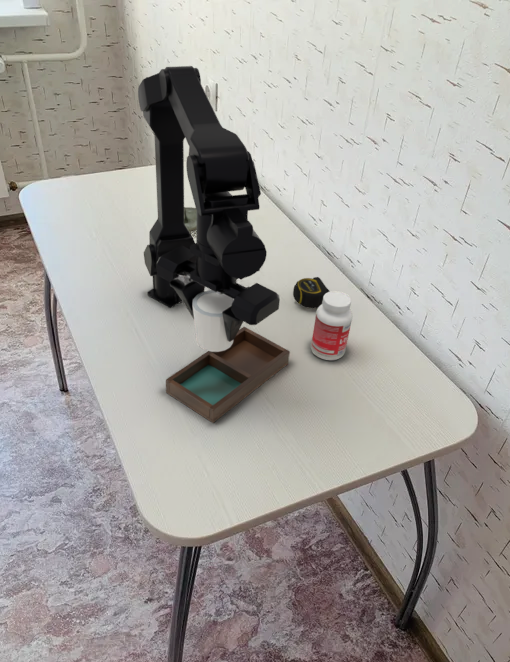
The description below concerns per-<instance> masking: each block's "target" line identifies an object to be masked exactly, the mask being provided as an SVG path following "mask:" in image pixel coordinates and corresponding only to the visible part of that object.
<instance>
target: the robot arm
mask: <svg viewBox="0 0 510 662" xmlns="http://www.w3.org/2000/svg"><path fill="white" fill-rule="evenodd" d="M137 99H138V104H139V109H140V111H141V112H142V115H143V118H144V120H145V122H146V124H147V125H148V127H149V128H150V130H151V131H152V133H153V137H154V152H155V153H154V155H155V156H154V157H155V160H154V161H155V181H156V182H155V183H156V204H157V205H156V207H157V219H156V220H155V222H154V224H153V225H152V227H151V229H150V230H149V235H148V236H149V244H147V245H146V247H145V249H144V251H143V259H144V265H145V267H146V269H147V271H148V275H149V276H150V277H152V289H150V290H148V291H147V292H146V293H147V294H146V295H147V296H149V297H150V298H152V299H154V300H156V301H158V302H159V303H161V304H163V305H165V306H166V307H168V308H173V307H175V306H176V305H179V304H180V303H183V304H184V306H185V307H186V309H187V311H188V312H189V314H190V316H191V317H192V319H193V320H194V314H193V299H194V298H195V297H196V295H198V294H200V293H202V292H205V288H207V289H209V290H212V291H214V292H216V293H218V294H225V295H227V296H229V297H231V298H233V302H232V306H231V307H229V308H228V309H226V310H224V311H223V312H222V314H223V320H224V326H225V332H226V336H227V339H228V341H229V342H231V341H232V340H234V338H235V337H236V335H237V333H238V331H239V330H240V329H241V328H242V324H243V323H245V324H247V325H249V326H257V325H258V324H259V323H261V322H263V321H264V320H265V319H267V318H268V317H270V316H271V315H273V314H274V313H275V312H277V311H278V310H279V308H280V300H281V299H280V294H278V292H276V291H274V290H273V289H270V288H268V287H266V286H264V285H263V284H261V283H258V282H255V283H254V284H252V285H251V286H244V285H243V284H239V283H238V282H237V281H238V279H239V280H243V279H245V278H249V277H251V276H253V275H255V274H256V273H257V272H260V270H261V269H262V267H263V266H264V264H265V262H266V259H267V253H268V252H267V248H266V245H265V244H264V242H263V240H262V239H261V238H260V236H259V235H258V234H257V232H256V231H255V230H254V226H253V224H252V223H251V221H249V217H248V215H249V214H248V213H249V212H250V211H257V210H260V200H259V197H261V195H262V192H261V188H260V184H259V179H258V178H259V177H258V175H257V170H256V166H255V165H256V164H255V162H254V160H253V157H252V154H251V152H250V151H249V150H248V149H247V147H246V145H245V144H244V143H243V141H242V140H241V138H240V137H239V135H238V134H236V133H235V132H233V131H231V130H229V129H227V128H225V127H223V126H222V124H221V123H220V120H219V118H218V115H217V114H216V112H215V110H214V108H213V105H212V104H211V102H210V99H209V97H208V95H207V94H206V91H205V89H204V87H203V85H202V79H201V73H200V70H199V68H198V67H193V65H184V66H183V65H182V66H180V65H179V66H166V67H164V68H162V69H160V70H159V72H158V73H155V74H153V75H150V76H146V77H145V78H143V79H142V80H141V82H140V84H139V85H138V87H137ZM185 140H186V143H187V145H188V155H187V157H186V161H185V160H184V159H185V158H184V157H185V155H184V153H185V151H184V143H185V142H184V141H185ZM184 161H185V162H184ZM184 163H186V164H184ZM185 165H186V166H185ZM185 167H186V175H187V181H188V183H189V187H190V191H191V195H192V199H193V203H194V208H196V210H197V229H196V232H195V233H196V235H195V237H196V239H195V240H194V237H193V235H192V233H191V232H189V230H188V228H187V227H186V225H185V224H184V207H185ZM244 189H245V191H246V193H243V194H234V195H233V194H232V193H230V192H238V191H243V190H244Z"/></svg>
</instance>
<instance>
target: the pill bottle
mask: <svg viewBox="0 0 510 662" xmlns="http://www.w3.org/2000/svg"><path fill="white" fill-rule="evenodd" d="M351 307H352V297H350V295H348V293H347V294H346V293H345V292H343V291H339V290H331V291H330V292H328V293H326V294H325V295H324V297H323V301H322V304H321V305H320V306H319V307H318V308H316V311H315V318H314V325H313V330H312V337H311V341H310V342H311V343H310V349H311V352H312V353H313V355H315V356H316V357H318V358H319V359H322V360H325V361H337V360H339V359H341V358H342V357H343V356H344V355H345V353H346V350H347V344H348V341H349V337H350V336H349V335H350V331H351V325H352V321H353V312H352V311H353V310H351Z"/></svg>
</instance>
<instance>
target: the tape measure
mask: <svg viewBox="0 0 510 662" xmlns="http://www.w3.org/2000/svg"><path fill="white" fill-rule="evenodd" d="M328 292H331V291H330V290H329V288H328V287H327V286H326V285H325V283H324V282H323V280H322V279H321V277H319V276H315V277H314V276H313V278H312V277H311V278H310V277H303V278H301V279H299V280H297V281H296V282H295V284H294V287H293V291H292V297H293V299H294V301H295V302H296V303H297V304H298V305H299V306H300V307H304V308H307V309H318V307H319V306H320V305H321V304H322V301H323V297H324V295H325V294H326V293H328Z"/></svg>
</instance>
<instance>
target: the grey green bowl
mask: <svg viewBox="0 0 510 662" xmlns="http://www.w3.org/2000/svg"><path fill="white" fill-rule="evenodd" d="M184 224H185V225H186V227H187V228H188V230H189V232H190V233H192V232H195V231H196V229H197V210H196V207H192V206H190V207H188V206H187V207H185V206H184Z"/></svg>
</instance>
